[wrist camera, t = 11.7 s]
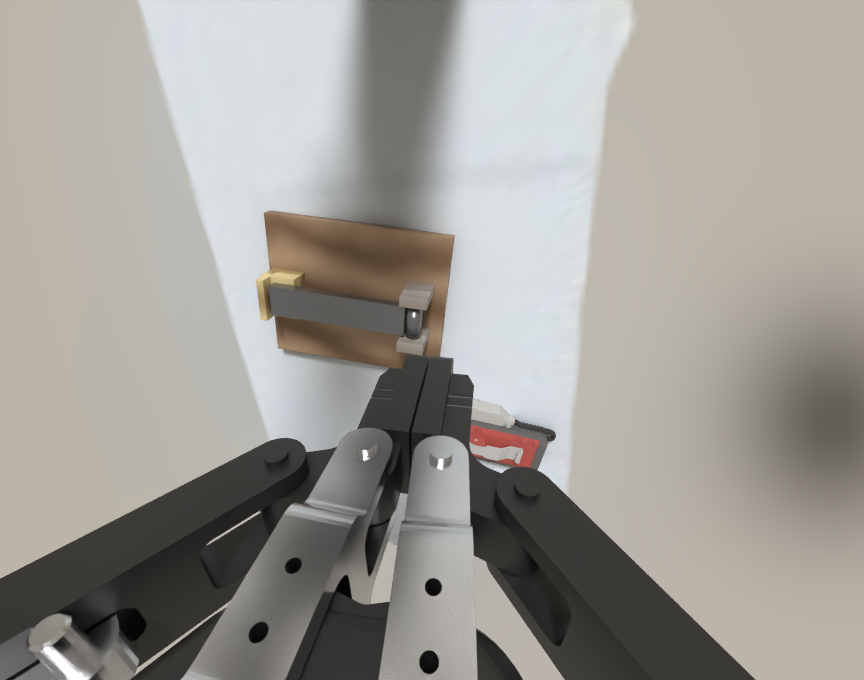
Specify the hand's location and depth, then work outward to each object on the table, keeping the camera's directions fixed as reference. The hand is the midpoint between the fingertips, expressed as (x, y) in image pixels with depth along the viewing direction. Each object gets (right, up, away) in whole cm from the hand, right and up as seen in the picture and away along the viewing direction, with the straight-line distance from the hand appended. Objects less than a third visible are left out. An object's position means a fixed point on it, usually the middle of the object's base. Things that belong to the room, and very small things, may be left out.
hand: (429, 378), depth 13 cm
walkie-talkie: (+7, -11, +44) cm, 46 cm away
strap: (-10, +5, +33) cm, 35 cm away
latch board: (-9, +7, +37) cm, 38 cm away
